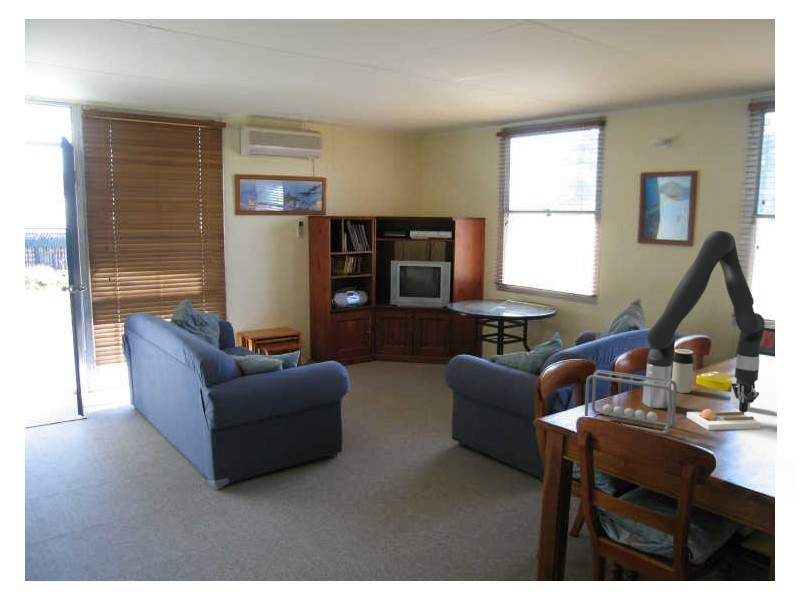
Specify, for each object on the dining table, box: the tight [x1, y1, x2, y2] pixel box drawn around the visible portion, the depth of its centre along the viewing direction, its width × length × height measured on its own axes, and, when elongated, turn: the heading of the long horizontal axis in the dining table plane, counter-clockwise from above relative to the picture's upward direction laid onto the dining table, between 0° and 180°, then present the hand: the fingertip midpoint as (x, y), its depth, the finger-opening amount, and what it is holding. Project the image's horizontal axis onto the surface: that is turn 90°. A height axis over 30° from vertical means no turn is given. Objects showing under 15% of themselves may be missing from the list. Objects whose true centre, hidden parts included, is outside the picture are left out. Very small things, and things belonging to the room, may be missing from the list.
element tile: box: [695, 370, 735, 392], centre depth 278 cm, size 15×15×5 cm
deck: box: [686, 410, 761, 431], centre depth 228 cm, size 20×14×3 cm
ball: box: [701, 408, 716, 421], centre depth 228 cm, size 5×5×5 cm
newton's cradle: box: [584, 369, 678, 435], centre depth 226 cm, size 30×10×18 cm, turn 57°
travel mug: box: [670, 348, 694, 394], centre depth 267 cm, size 8×8×18 cm
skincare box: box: [729, 377, 751, 410], centre depth 245 cm, size 6×4×12 cm
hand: (742, 411), depth 228 cm, fingers closed
